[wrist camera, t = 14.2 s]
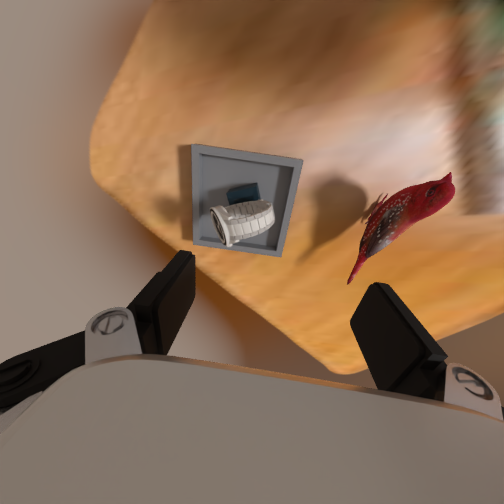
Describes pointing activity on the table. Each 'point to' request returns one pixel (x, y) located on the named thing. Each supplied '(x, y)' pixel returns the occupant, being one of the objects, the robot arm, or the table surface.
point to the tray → (236, 175)
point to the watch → (242, 215)
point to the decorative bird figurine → (401, 215)
